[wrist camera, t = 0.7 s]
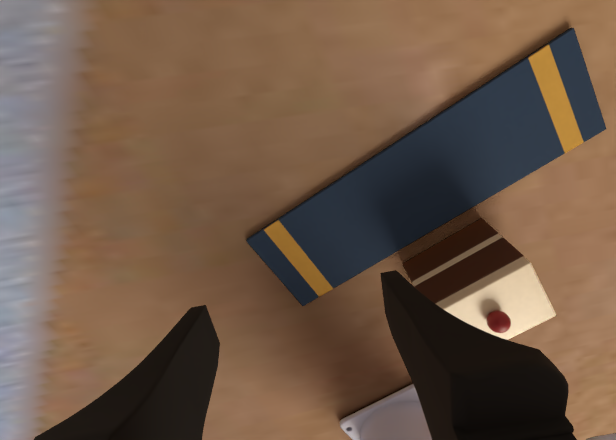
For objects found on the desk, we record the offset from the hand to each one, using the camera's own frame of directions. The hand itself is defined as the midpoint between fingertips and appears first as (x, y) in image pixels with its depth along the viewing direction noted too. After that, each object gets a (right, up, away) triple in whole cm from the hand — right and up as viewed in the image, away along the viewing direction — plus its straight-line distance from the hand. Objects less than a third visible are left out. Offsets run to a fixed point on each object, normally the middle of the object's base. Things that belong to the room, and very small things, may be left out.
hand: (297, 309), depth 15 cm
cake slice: (+11, +1, +11) cm, 15 cm away
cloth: (+7, +6, +9) cm, 13 cm away
